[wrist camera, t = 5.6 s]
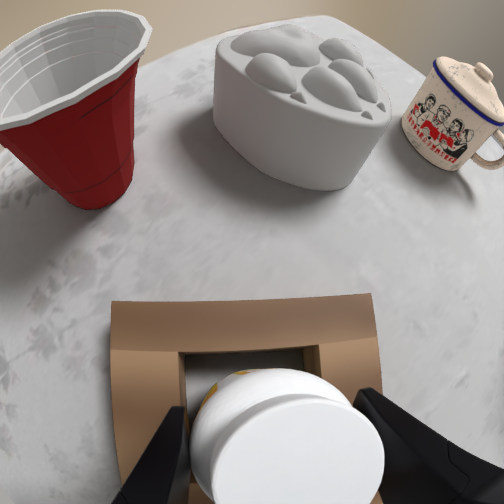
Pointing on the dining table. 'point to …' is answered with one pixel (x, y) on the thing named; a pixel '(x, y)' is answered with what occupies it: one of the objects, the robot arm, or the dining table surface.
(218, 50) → the lumpy-topped squat cylinder
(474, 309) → the dining table surface
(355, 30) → the dining table surface
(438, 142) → the teacup with lid
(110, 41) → the plastic cup
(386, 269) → the dining table surface
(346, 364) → the bottle holder
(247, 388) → the supplement bottle
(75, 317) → the dining table surface
